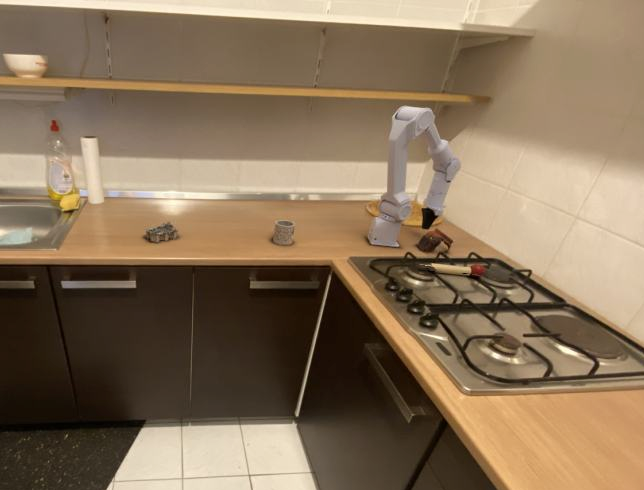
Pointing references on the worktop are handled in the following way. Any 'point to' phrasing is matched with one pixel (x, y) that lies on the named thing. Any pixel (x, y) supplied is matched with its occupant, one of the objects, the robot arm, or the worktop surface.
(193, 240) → the worktop surface
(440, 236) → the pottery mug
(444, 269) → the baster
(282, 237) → the mug
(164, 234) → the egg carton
